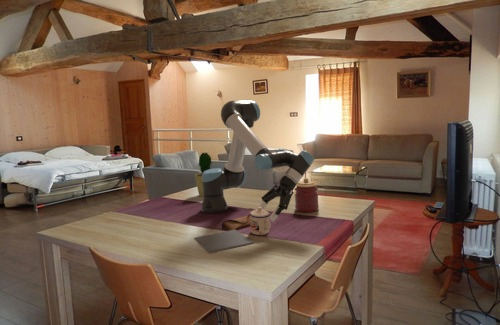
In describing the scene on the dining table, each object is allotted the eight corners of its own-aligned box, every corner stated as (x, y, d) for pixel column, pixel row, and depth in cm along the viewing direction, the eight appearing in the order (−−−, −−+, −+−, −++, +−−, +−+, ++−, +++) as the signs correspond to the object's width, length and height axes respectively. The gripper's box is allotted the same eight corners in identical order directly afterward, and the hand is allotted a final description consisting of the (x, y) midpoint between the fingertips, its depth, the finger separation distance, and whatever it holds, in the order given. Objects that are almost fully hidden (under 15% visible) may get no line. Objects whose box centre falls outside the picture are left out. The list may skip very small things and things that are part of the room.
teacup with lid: (246, 230, 174) (245, 206, 172) (261, 226, 180) (261, 203, 178) (261, 239, 165) (262, 213, 163) (277, 234, 170) (278, 209, 168)
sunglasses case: (231, 231, 176) (227, 218, 178) (224, 236, 181) (220, 223, 183) (261, 223, 187) (256, 210, 189) (253, 227, 192) (249, 215, 194)
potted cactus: (209, 199, 245) (206, 153, 240) (191, 197, 253) (188, 152, 249) (223, 193, 257) (220, 150, 253) (206, 192, 266) (203, 150, 262)
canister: (311, 205, 216) (311, 175, 213) (323, 210, 204) (322, 178, 201) (291, 208, 212) (290, 177, 209) (301, 214, 200) (300, 181, 197)
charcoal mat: (194, 238, 169) (194, 237, 169) (235, 230, 178) (235, 229, 178) (209, 253, 151) (209, 251, 151) (253, 243, 160) (253, 241, 160)
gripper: (310, 189, 166) (283, 228, 161) (281, 181, 188) (256, 215, 184) (300, 178, 163) (271, 218, 158) (271, 171, 185) (246, 206, 181)
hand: (263, 216), depth 171 cm, fingers open, 13 cm apart
